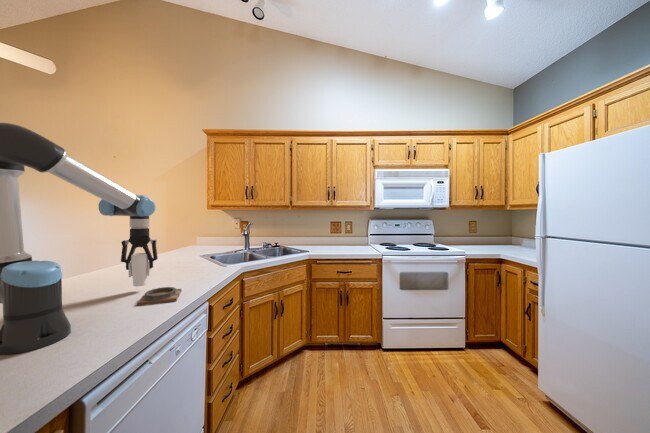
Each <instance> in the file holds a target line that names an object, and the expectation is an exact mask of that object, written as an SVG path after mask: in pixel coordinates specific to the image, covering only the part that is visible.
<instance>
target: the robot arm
mask: <svg viewBox="0 0 650 433" xmlns="http://www.w3.org/2000/svg"><path fill="white" fill-rule="evenodd" d="M25 167H27V168H30V169H33V170H35V171H37V172H39V173H42V174H43V173H49V174H50V175H53V176H54V177H57V178H58V179H60V180H63V181H65V182H67V183H69V184H70V185H73V186H75V187H77V188H79V189H80V190H83V191H85V192H87V193H90V194H91V195H93V196H94V197H95V196H96V197H97V198H99V199H100V200H99V203H98V211H99V213H100V214H101V215H102V216H106V217H107V216H109V217H113V216H114V217H118V216H119V217H129V228H130V229H129V238H128V239H127V240H122V241H121V246H122V247H121V248H122V249H121V256H120V262H121V263H125V270H127V271H128V278H132V268H131V255H133V254H135V252H136V249H137V248H142V249H143V250H144V253H146V254H147V257H148V262H147V277H150V276H151V274H152V272H151V271H152V269H153V268H154V261H157V260H158V251H157V250H158V249H157V242H158V239H151V237H150V216H151V215H153V214H154V213H155V211H156V208H157V207H156V204H155V202H154V201H153V200H152V199H151V198H150V197H149V196H148V195H139V194H136V193H134V192H131V191H130V190H128V189H127V188H125V187H123V186H121V185H120V184H118V183H116V182H115V181H113V180H112V179H109V178H108V177H106V176H104V175H102V174H101V173H99V172H98V171H96V170H94V169H93V168H91V167H90V166H88V165H86V164H84V163H82V162H81V161H79V160H77V159H75V158H74V157H72V156H70V155H69V154H67V152H66V149H65V148H64V147H61V146H60V145H58V144H56V143H55V142H53V141H52V140H50V139H48V138H46V137H45V136H43V135H41V134H39V133H38V132H35V131H33V130H31V129H29V128H27V127H23V126H21V125H18V124H15V123H10V122H0V304H2V315H3V316H2V318H3V321H2V324H1V326H0V355H12V354H14V355H15V354H19V353H26V352H30V351H33V350H37V349H40V348H44V347H47V346H49V345H52V344H54V343H57V342H59V341H62V340H63V339H65V338H66V337H68V336H69V335H70V334H71V332H72V328H71V326H72V325H71V323H70V320H69V319H68V317H67V316H66V313H65V312H64V310H63V286H62V285H63V284H62V283H63V282H62V281H63V280H62V278H63V273H62V268H61V265H60V264H59V263H58V262H55V261H51V260H33V258H32V257H33V256H32V254H30V253H28V252H26V251H25V248H24V247H25V245H24V234H23V222H22V211H21V200H20V186H19V178H20V176H22V175H24V174H25V172H26V171H25V169H26V168H25ZM129 243H130V245H131V247H130V250H129V252H128V246H129ZM149 243H150V244H151V248H152V249H151V250H152V253H151V250H150V248H149V245H148V244H149ZM127 252H128V256H127Z"/></svg>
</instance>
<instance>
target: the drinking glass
mask: <svg viewBox="0 0 650 433" xmlns="http://www.w3.org/2000/svg"><path fill="white" fill-rule="evenodd" d="M147 262H149V260H148V257H147V254H146V253H145V252H137V253H134V254H133V255H131V268H132V276H131V278H132V286H133V287H143V286H146V285H147V283H148V279H147V278H148V276H147Z"/></svg>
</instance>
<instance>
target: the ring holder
mask: <svg viewBox="0 0 650 433" xmlns="http://www.w3.org/2000/svg"><path fill="white" fill-rule="evenodd" d="M181 293H182V288H176V287H173V286H164V287H158V288H152V289H150V290H146V292H145V293H144V295H143V296H142V297H141V298H140V299H139V300H138V301H137V303H136V305H137V306H138V307H139V306H145V305H146V306H147V305H155V304H164V303H165V304H166V303H173V302H177V301H178V300H179V299H178V298H179V297H180V295H181Z"/></svg>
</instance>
